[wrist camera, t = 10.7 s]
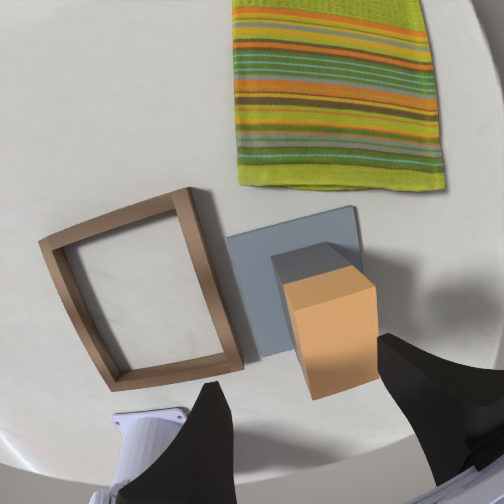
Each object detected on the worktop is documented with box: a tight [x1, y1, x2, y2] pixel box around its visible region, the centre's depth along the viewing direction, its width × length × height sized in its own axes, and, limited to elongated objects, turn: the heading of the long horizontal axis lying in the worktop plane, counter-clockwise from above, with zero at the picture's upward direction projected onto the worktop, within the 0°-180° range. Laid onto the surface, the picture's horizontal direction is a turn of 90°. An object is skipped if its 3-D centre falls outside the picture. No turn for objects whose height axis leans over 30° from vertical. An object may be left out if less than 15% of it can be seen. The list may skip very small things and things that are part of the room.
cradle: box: [38, 187, 244, 392], centre depth 21 cm, size 14×12×2 cm
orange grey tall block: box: [270, 242, 379, 401], centre depth 18 cm, size 6×4×8 cm, turn 14°
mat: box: [227, 205, 363, 357], centre depth 22 cm, size 10×9×1 cm
